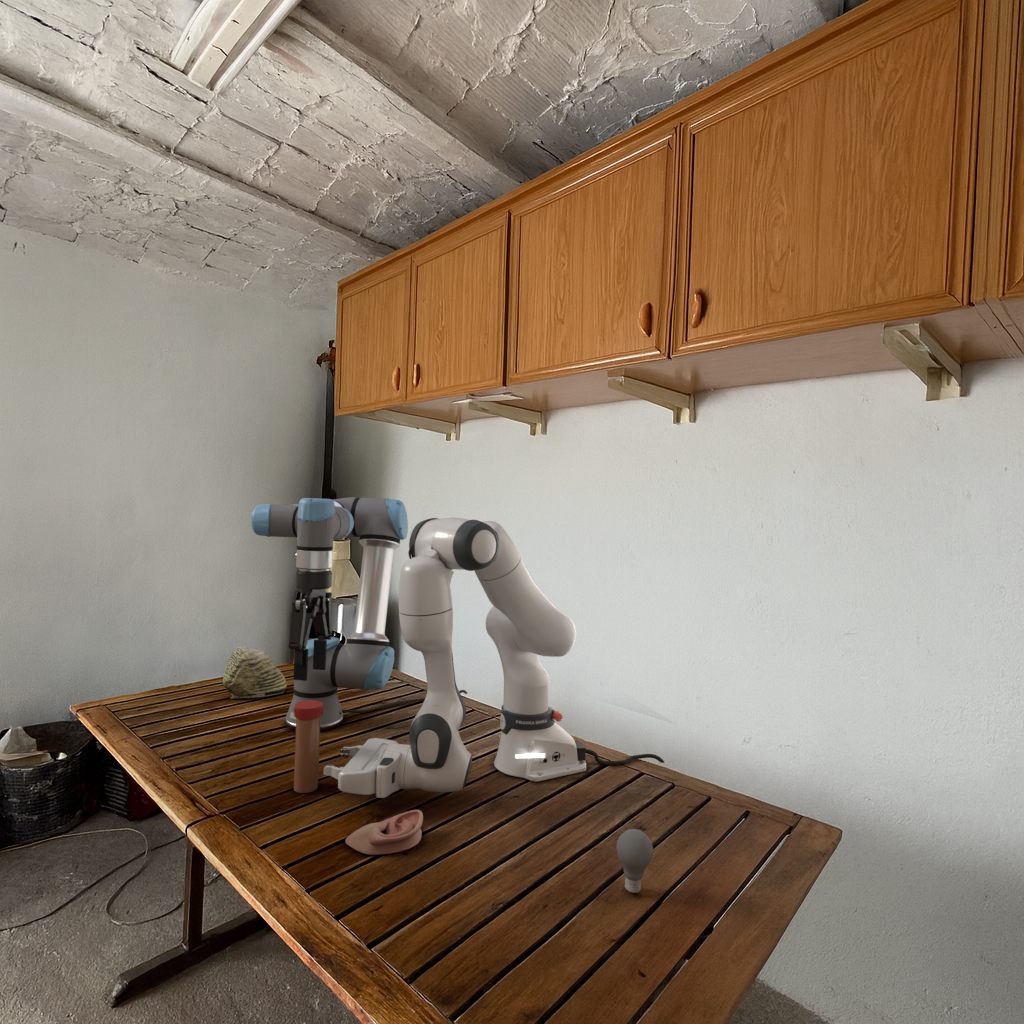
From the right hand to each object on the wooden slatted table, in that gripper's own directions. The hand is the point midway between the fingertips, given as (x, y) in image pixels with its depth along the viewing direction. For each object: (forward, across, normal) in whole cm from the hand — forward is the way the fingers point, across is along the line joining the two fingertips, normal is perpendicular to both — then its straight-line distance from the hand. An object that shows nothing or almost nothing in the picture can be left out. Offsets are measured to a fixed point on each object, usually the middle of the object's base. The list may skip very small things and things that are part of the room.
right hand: (333, 760), depth 137 cm
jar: (+6, 0, +7) cm, 9 cm away
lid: (+6, 0, -11) cm, 13 cm away
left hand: (+6, 0, -18) cm, 19 cm away
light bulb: (-62, +25, +7) cm, 67 cm away
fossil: (+48, -57, +7) cm, 75 cm away
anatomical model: (-17, +17, +7) cm, 25 cm away
